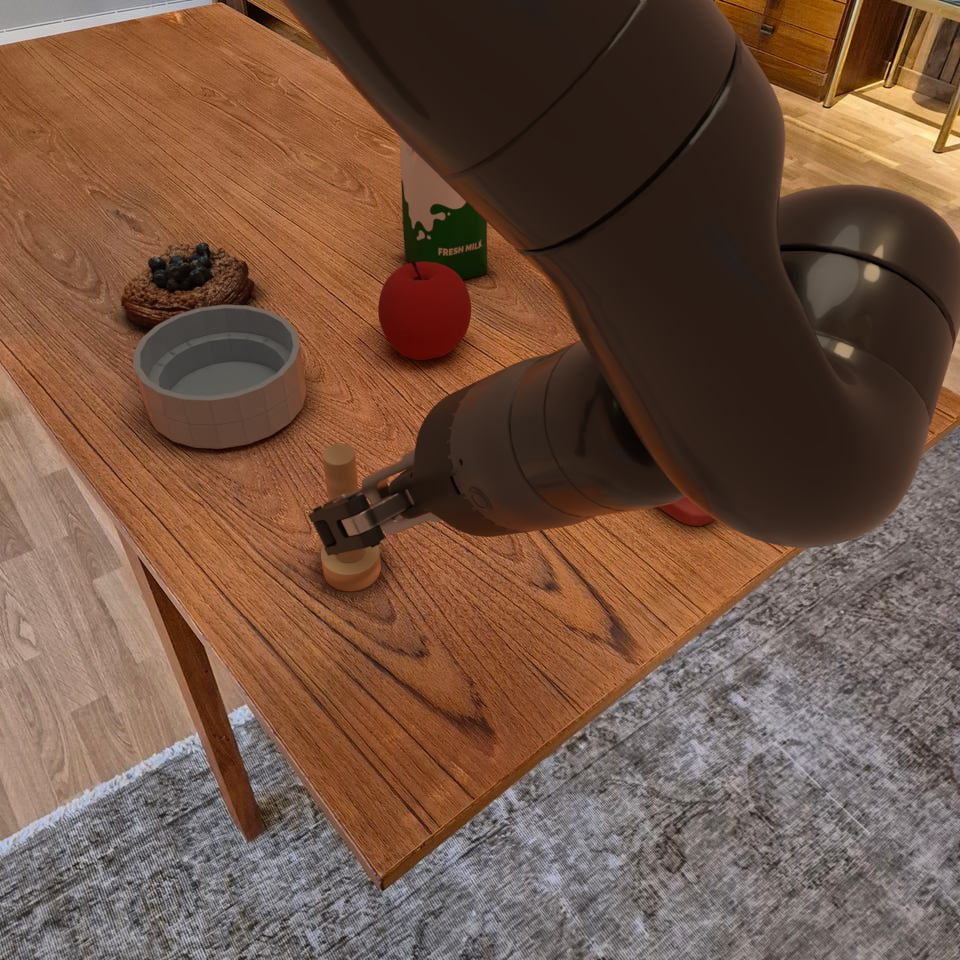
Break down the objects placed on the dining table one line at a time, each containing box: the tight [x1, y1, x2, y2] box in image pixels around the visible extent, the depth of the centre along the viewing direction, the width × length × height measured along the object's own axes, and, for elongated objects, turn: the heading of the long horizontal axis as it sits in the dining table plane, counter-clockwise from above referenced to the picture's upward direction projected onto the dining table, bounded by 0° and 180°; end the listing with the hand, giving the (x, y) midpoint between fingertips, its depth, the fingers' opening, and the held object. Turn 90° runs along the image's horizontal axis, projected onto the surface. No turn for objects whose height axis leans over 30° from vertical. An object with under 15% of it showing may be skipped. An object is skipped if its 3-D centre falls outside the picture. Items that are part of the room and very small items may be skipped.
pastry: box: [120, 242, 257, 334], centre depth 92 cm, size 11×12×6 cm
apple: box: [377, 259, 472, 361], centre depth 86 cm, size 9×9×10 cm
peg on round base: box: [320, 442, 382, 592], centre depth 64 cm, size 4×4×12 cm
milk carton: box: [398, 135, 488, 281], centre depth 94 cm, size 9×9×20 cm
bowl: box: [132, 305, 307, 450], centre depth 80 cm, size 14×14×6 cm
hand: (393, 488), depth 55 cm, fingers open, 8 cm apart
